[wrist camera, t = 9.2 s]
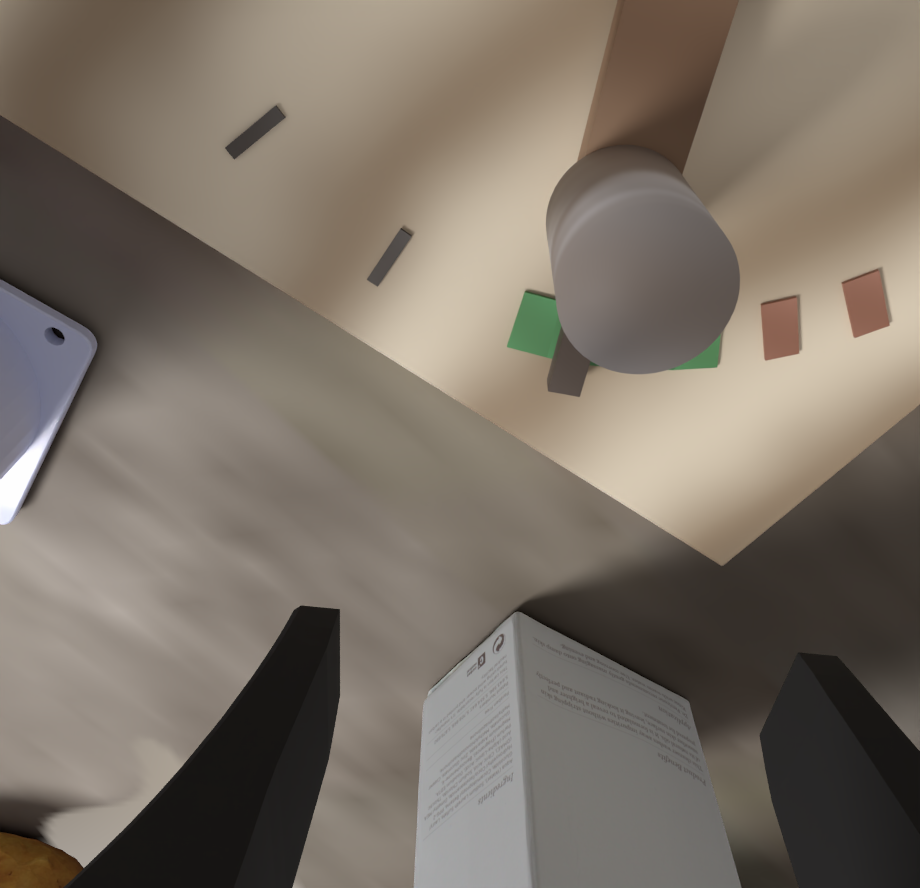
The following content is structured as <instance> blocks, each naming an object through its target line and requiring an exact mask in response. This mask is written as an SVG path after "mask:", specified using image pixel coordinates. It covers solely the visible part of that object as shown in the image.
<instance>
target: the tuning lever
mask: <svg viewBox="0 0 920 888" xmlns="http://www.w3.org/2000/svg"><path fill="white" fill-rule="evenodd" d="M738 2H739V0H617V4H616V8H615V12H614V16H613V20H612V24H611V28H610V32H609V36H608V40H607V44H606V48H605V52H604V56H603V60H602V64H601V68H600V72H599V76H598V80H597V84H596V88H595V92H594V96H593V100H592V104H591V108H590V112H589V116H588V120H587V124H586V128H585V132H584V136H583V140H582V144H581V148H580V152H579V156H578V160H577V162H576V163H575V164H574V165H573V166H572V167H570V168H569V169H568V170H567V171H566V173H565V174H564V175H563V176H562V178H561V179H560V180H559V182H558V184H557V185H556V187H555V189H554V191H553V193H552V195H551V198H550V201H549V204H548V208H547V214H546V232H547V240H548V247H549V255H550V262H551V269H552V277H553V284H554V291H555V298H556V306H557V312H558V316H559V321H560V323H561V329H560V333H559V336H558V340H557V344H556V347H555V351H554V355H553V358H552V362H551V366H550V369H549V373H548V377H547V388H548V392H554V393H559V394H565V395H570V396H576V397H580V395H581V391H582V388H583V385H584V382H585V378H586V375H587V372H588V368H589V365H590V362H593V363H595V364H597V365H599V366H601V367H603V368H606V369H608V370H611V371H615V372H619V373H626V374H651V373H657V372H662V371H666V370H669V369H672V368H675V367H678V366H680V365H682V364H684V363H686V362H688V361H690V360H691V359H693V358H695V357H696V356H698V355H699V354H700V353H702V352H703V351H704V350H706V349H707V348H708V347H709V346H710V345H711V344H712V343H713V342H714V341H715V340H716V339H717V338H718V336H719V335H720V334H721V333H722V332H723V330H724V329H725V327H726V325H727V324H728V322H729V321H730V318H731V316H732V314H733V312H734V310H735V307H736V304H737V301H738V296H739V290H740V270H739V264H738V260H737V256H736V254H735V251H734V249H733V247H732V245H731V243H730V241H729V240H728V238H727V237H726V235H725V234H724V232H723V231H722V230H721V228H720V227H719V225H718V224H717V223H716V221H715V220H714V219H713V217H712V216H711V214H710V213H709V212H708V210H707V209H706V207H705V206H704V205H703V203H702V202H701V200H700V199H699V198H698V196H697V195H696V193H695V192H694V191H693V189H692V188H691V187H690V185H689V184H688V182H687V181H686V180H685V178H684V177H683V175H682V174H683V171H684V168H685V164H686V161H687V158H688V155H689V152H690V149H691V146H692V143H693V140H694V137H695V134H696V131H697V128H698V125H699V122H700V119H701V115H702V112H703V109H704V106H705V103H706V100H707V97H708V94H709V91H710V88H711V85H712V82H713V79H714V76H715V73H716V70H717V66H718V63H719V60H720V57H721V54H722V51H723V48H724V45H725V42H726V39H727V36H728V33H729V30H730V27H731V24H732V21H733V17H734V14H735V11H736V8H737V5H738Z"/></svg>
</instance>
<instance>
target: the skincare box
mask: <svg viewBox="0 0 920 888" xmlns="http://www.w3.org/2000/svg"><path fill="white" fill-rule="evenodd" d="M414 888H742V887H741V884H740V880H739V877H738V873H737V870H736V866H735V863H734V859H733V856H732V852H731V849H730V845H729V842H728V838H727V835H726V831H725V827H724V824H723V820H722V817H721V814H720V811H719V807H718V803H717V800H716V796H715V793H714V790H713V786H712V783H711V779H710V775H709V771H708V768H707V764H706V761H705V757H704V754H703V750H702V747H701V744H700V740H699V737H698V733H697V730H696V726H695V723H694V719H693V715H692V712H691V708H690V702H689V701H688V700H686V699H684V698H683V697H681V696H679V695H677V694H675V693H673V692H671V691H669V690H667V689H665V688H663V687H662V686H660V685H658V684H656V683H654V682H652V681H650V680H648V679H646V678H644V677H642V676H640V675H638V674H636V673H635V672H633V671H631V670H629V669H627V668H625V667H623V666H621V665H620V664H618V663H616V662H614V661H612V660H610V659H608V658H606V657H604V656H603V655H601V654H599V653H597V652H595V651H593V650H591V649H589V648H587V647H585V646H584V645H582V644H580V643H578V642H576V641H574V640H572V639H570V638H568V637H566V636H564V635H562V634H560V633H558V632H556V631H554V630H552V629H550V628H548V627H547V626H545V625H543V624H541V623H539V622H537V621H536V620H534V619H532V618H530V617H529V616H527V615H525V614H523V613H521V612H515V613H513V614H512V615H511V616H510V617H509V618H508V619H506V620H505V621H504V622H503V623H502V624H501V625H500V626H499V627H498V628H497V629H496V630H495V631H494V632H493V633H492V634H491V635H490V636H489V637H488V638H487V639H486V640H485V641H484V642H483V643H482V644H481V645H479V646H478V647H477V648H476V649H475V650H474V651H473V652H472V653H471V654H469V655H468V656H467V657H466V658H465V659H464V660H462V661H461V662H460V663H459V664H457V666H456V667H454V668H453V669H452V670H451V671H450V672H449V673H448V674H447V675H446V676H445V677H444V678H443V679H441V680H440V682H439V683H437V684H436V685H435V686H434V687H433V688H432V689H431V690H430V691H429V693H428V697H427V699H426V700H425V701H424V705H423V720H422V739H421V756H420V776H419V793H418V816H417V835H416V855H415V874H414Z"/></svg>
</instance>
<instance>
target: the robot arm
mask: <svg viewBox="0 0 920 888" xmlns="http://www.w3.org/2000/svg"><path fill="white" fill-rule="evenodd" d="M52 327H53V328H56V329H58V330H60V331H61V332H62V333H63V335H64V337H65V339H62V338H58V337H57V336H56V335H55V334H54V333H53V331H52ZM96 350H97V341H96V338H95V336H94V335H93V334H92V332H91V331H89V330H88V329H87V328H86V327H84V326H82V325H80V324H79V323H77V322H75V321H73V320H72V319H70V318H68V317H66V316H65V315H63V314H61V313H59V312H58V311H56V310H54V309H52V308H50V307H49V306H47V305H45V304H43V303H42V302H40V301H38V300H36V299H35V298H33V297H31V296H29V295H27V294H26V293H24V292H22V291H20V290H19V289H17V288H15V287H13V286H12V285H10V284H8V283H6V282H4V281H3V280H1V279H0V524H8V523H10V522H11V521H12V520H13V519H14V518H15V517H16V516H17V514H18V513H19V511H20V509H21V507H22V504H23V502H24V500H25V498H26V496H27V494H28V492H29V490H30V488H31V486H32V484H33V482H34V479H35V477H36V475H37V473H38V471H39V469H40V467H41V465H42V463H43V461H44V459H45V457H46V455H47V452H48V450H49V448H50V446H51V444H52V442H53V440H54V438H55V436H56V434H57V432H58V430H59V427H60V425H61V423H62V421H63V419H64V417H65V415H66V413H67V411H68V409H69V407H70V405H71V402H72V400H73V398H74V396H75V394H76V392H77V390H78V388H79V386H80V384H81V382H82V380H83V377H84V375H85V373H86V371H87V369H88V367H89V365H90V363H91V361H92V359H93V357H94V355H95V352H96ZM339 698H340V609H331V608H321V607H310V606H300V607H298V608H297V609H295V610H294V611H293V613H292V615H291V616H290V618H289V620H288V622H287V624H286V625H285V627H284V629H283V630H282V632H281V634H280V635H279V637H278V639H277V640H276V642H275V643H274V645H273V646H272V648H271V650H270V651H269V653H268V654H267V656H266V657H265V659H264V660H263V662H262V663H261V665H260V666H259V667H258V669H257V670H256V672H255V673H254V675H253V676H252V678H251V679H250V680H249V682H248V683H247V685H246V686H245V687H244V689H243V690H242V691H241V693H240V694H239V695H238V697H237V698H236V699H235V701H234V702H233V704H232V705H231V706H230V708H229V709H228V710H227V712H226V713H225V714H224V716H223V717H222V718H221V720H220V721H219V722H218V723H217V725H216V726H215V727H214V728H213V730H212V731H211V732H210V733H209V734H208V736H207V737H206V738H205V739H204V741H203V742H202V743H201V744H200V745H199V747H198V748H197V749H196V750H195V751H194V753H193V754H192V755H191V756H190V758H189V759H188V760H187V761H186V762H185V764H184V765H183V766H182V767H181V768H180V769H179V771H178V772H177V773H176V774H175V775H174V776H173V778H172V779H171V780H170V781H169V782H168V783H167V784H166V785H165V786H164V788H163V789H162V790H161V791H160V792H159V793H158V794H157V795H156V796H155V798H154V799H153V800H152V801H151V802H150V803H149V804H148V805H147V806H146V807H145V808H144V809H143V810H142V811H141V812H140V813H139V814H138V815H137V817H136V818H135V819H134V820H133V821H132V822H131V823H130V824H129V825H128V826H127V827H126V828H125V829H124V830H123V831H122V832H121V833H120V834H119V835H118V836H117V837H116V838H115V839H114V840H113V841H112V842H111V843H110V844H109V845H108V846H107V847H106V848H105V849H104V850H102V851H101V852H100V853H99V854H98V855H97V856H96V857H95V858H94V859H93V860H92V861H91V862H90V863H89V864H88V865H87V866H86V867H85V868H84V869H83V870H82V871H81V872H80V873H79V874H77V875H76V876H75V877H74V878H73V879H72V880H71V881H70V882H69V883H68V884H67V885H66V886H64V887H63V888H292V887H293V883H294V880H295V876H296V873H297V869H298V866H299V862H300V859H301V855H302V852H303V848H304V845H305V841H306V838H307V834H308V831H309V827H310V824H311V820H312V817H313V813H314V810H315V806H316V802H317V799H318V795H319V792H320V788H321V785H322V781H323V778H324V774H325V770H326V767H327V763H328V760H329V754H330V749H331V743H332V738H333V732H334V727H335V721H336V715H337V709H338V703H339ZM760 740H761V746H762V752H763V758H764V763H765V769H766V774H767V779H768V784H769V789H770V794H771V799H772V803H773V806H774V809H775V813H776V816H777V819H778V822H779V826H780V829H781V832H782V835H783V838H784V842H785V845H786V848H787V851H788V854H789V857H790V861H791V864H792V867H793V870H794V873H795V876H796V879H797V882H798V885H799V888H920V751H919V750H918V749H917V748H916V747H915V745H914V744H913V743H912V742H911V741H910V740H909V739H908V737H907V736H906V735H905V734H904V733H903V732H902V731H901V729H900V728H899V727H898V726H897V725H896V724H895V722H894V721H893V720H892V719H891V718H890V717H889V716H888V714H887V713H886V712H885V711H884V710H883V709H882V707H881V706H880V705H879V704H878V703H877V702H876V700H875V699H874V698H873V697H872V696H871V695H870V693H869V692H868V691H867V690H866V689H865V688H864V686H863V685H862V684H861V683H860V682H859V681H858V680H857V678H856V677H855V676H854V675H853V674H852V673H851V672H850V670H849V669H848V668H847V667H846V666H845V665H844V664H843V662H842V661H841V660H840V659H839V658H838V657H837V656H828V655H818V654H807V653H798V654H797V656H796V658H795V660H794V663H793V665H792V667H791V669H790V671H789V673H788V675H787V678H786V680H785V682H784V684H783V686H782V688H781V690H780V693H779V695H778V697H777V699H776V701H775V703H774V705H773V707H772V710H771V712H770V714H769V716H768V718H767V720H766V722H765V725H764V727H763V729H762V731H761V733H760Z"/></svg>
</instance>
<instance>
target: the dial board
mask: <svg viewBox="0 0 920 888" xmlns="http://www.w3.org/2000/svg"><path fill="white" fill-rule="evenodd" d="M616 4H617V0H0V115H1V116H3V117H4V118H6V119H7V120H9V121H11V122H12V123H14V124H15V125H17V126H19V127H20V128H22V129H23V130H25V131H27V132H28V133H30V134H31V135H33V136H35V137H36V138H38V139H39V140H41V141H43V142H44V143H46V144H47V145H49V146H51V147H52V148H54V149H55V150H57V151H59V152H60V153H62V154H63V155H65V156H67V157H68V158H70V159H71V160H73V161H75V162H76V163H78V164H79V165H81V166H83V167H84V168H86V169H87V170H89V171H91V172H92V173H94V174H95V175H97V176H99V177H100V178H102V179H103V180H105V181H107V182H108V183H110V184H111V185H113V186H115V187H116V188H118V189H119V190H121V191H123V192H124V193H126V194H127V195H129V196H131V197H132V198H134V199H135V200H137V201H139V202H140V203H142V204H143V205H145V206H147V207H148V208H150V209H151V210H153V211H155V212H156V213H158V214H159V215H161V216H163V217H164V218H166V219H167V220H169V221H171V222H172V223H174V224H175V225H177V226H179V227H180V228H182V229H183V230H185V231H187V232H188V233H190V234H191V235H193V236H195V237H196V238H198V239H199V240H201V241H203V242H204V243H206V244H207V245H209V246H211V247H212V248H214V249H215V250H217V251H219V252H220V253H222V254H223V255H225V256H227V257H228V258H230V259H231V260H233V261H235V262H236V263H238V264H239V265H241V266H243V267H244V268H246V269H247V270H249V271H251V272H252V273H254V274H255V275H257V276H259V277H260V278H262V279H263V280H265V281H267V282H268V283H270V284H271V285H273V286H275V287H276V288H278V289H279V290H281V291H283V292H284V293H286V294H287V295H289V296H291V297H292V298H294V299H295V300H297V301H299V302H300V303H302V304H303V305H305V306H307V307H308V308H310V309H311V310H313V311H315V312H316V313H318V314H319V315H321V316H323V317H324V318H326V319H327V320H329V321H331V322H332V323H334V324H335V325H337V326H339V327H340V328H342V329H343V330H345V331H347V332H348V333H350V334H351V335H353V336H355V337H356V338H358V339H359V340H361V341H363V342H364V343H366V344H367V345H369V346H371V347H372V348H374V349H375V350H377V351H379V352H380V353H382V354H383V355H385V356H387V357H388V358H390V359H391V360H393V361H395V362H396V363H398V364H399V365H401V366H403V367H404V368H406V369H407V370H409V371H411V372H412V373H414V374H415V375H417V376H419V377H420V378H422V379H423V380H425V381H427V382H428V383H430V384H431V385H433V386H435V387H436V388H438V389H439V390H441V391H443V392H444V393H446V394H447V395H449V396H451V397H452V398H454V399H455V400H457V401H459V402H460V403H462V404H463V405H465V406H467V407H468V408H470V409H472V410H473V411H475V412H476V413H478V414H480V415H481V416H483V417H484V418H486V419H488V420H489V421H491V422H492V423H494V424H496V425H497V426H499V427H500V428H502V429H504V430H505V431H507V432H508V433H510V434H512V435H513V436H515V437H516V438H518V439H520V440H521V441H523V442H524V443H526V444H528V445H529V446H531V447H532V448H534V449H536V450H537V451H539V452H540V453H542V454H544V455H545V456H547V457H548V458H550V459H552V460H553V461H555V462H556V463H558V464H560V465H561V466H563V467H564V468H566V469H568V470H569V471H571V472H572V473H574V474H576V475H577V476H579V477H580V478H582V479H584V480H585V481H587V482H588V483H590V484H592V485H593V486H595V487H596V488H598V489H600V490H601V491H603V492H604V493H606V494H608V495H609V496H611V497H612V498H614V499H616V500H617V501H619V502H620V503H622V504H624V505H625V506H627V507H628V508H630V509H632V510H633V511H635V512H636V513H638V514H640V515H641V516H643V517H644V518H646V519H648V520H649V521H651V522H652V523H654V524H656V525H657V526H659V527H660V528H662V529H664V530H665V531H667V532H668V533H670V534H672V535H673V536H675V537H676V538H678V539H680V540H681V541H683V542H684V543H686V544H688V545H689V546H691V547H692V548H694V549H696V550H697V551H699V552H700V553H702V554H704V555H705V556H707V557H708V558H710V559H712V560H713V561H715V562H716V563H718V564H720V565H721V566H723V565H724V564H726V563H727V562H728V561H729V560H731V559H732V558H733V557H734V556H735V555H737V554H738V553H739V552H740V551H741V550H743V549H744V548H745V547H746V546H748V545H749V544H750V543H751V542H752V541H754V540H755V539H756V538H757V537H759V536H760V535H761V534H762V533H763V532H765V531H766V530H767V529H768V528H770V527H771V526H772V525H773V524H774V523H776V522H777V521H778V520H779V519H780V518H782V517H783V516H784V515H785V514H787V513H788V512H789V511H790V510H791V509H793V508H794V507H795V506H796V505H798V504H799V503H800V502H801V501H802V500H804V499H805V498H806V497H807V496H808V495H810V494H811V493H812V492H813V491H815V490H816V489H817V488H818V487H819V486H821V485H822V484H823V483H824V482H826V481H827V480H828V479H829V478H830V477H832V476H833V475H834V474H835V473H837V472H838V471H839V470H840V469H841V468H843V467H844V466H845V465H846V464H847V463H849V462H850V461H851V460H852V459H854V458H855V457H856V456H857V455H858V454H860V453H861V452H862V451H863V450H865V449H866V448H867V447H868V446H869V445H871V444H872V443H873V442H874V441H875V440H877V439H878V438H879V437H880V436H882V435H883V434H884V433H885V432H886V431H888V430H889V429H890V428H891V427H893V426H894V425H895V424H896V423H897V422H899V421H900V420H901V419H902V418H904V417H905V416H906V415H907V414H908V413H910V412H911V411H912V410H913V409H914V408H916V407H917V406H918V405H919V404H920V0H739V2H738V5H737V8H736V11H735V14H734V17H733V21H732V24H731V27H730V30H729V33H728V36H727V39H726V42H725V45H724V48H723V51H722V54H721V57H720V60H719V63H718V66H717V70H716V73H715V76H714V79H713V82H712V85H711V88H710V91H709V94H708V97H707V100H706V103H705V106H704V109H703V112H702V115H701V119H700V122H699V125H698V128H697V131H696V134H695V137H694V140H693V143H692V146H691V149H690V152H689V155H688V158H687V161H686V164H685V168H684V171H683V174H682V175H683V177H684V178H685V180H686V181H687V182H688V184H689V185H690V187H691V188H692V189H693V191H694V192H695V193H696V195H697V196H698V198H699V199H700V200H701V202H702V203H703V205H704V206H705V207H706V209H707V210H708V212H709V213H710V214H711V216H712V217H713V219H714V220H715V221H716V223H717V224H718V225H719V227H720V228H721V230H722V231H723V232H724V234H725V235H726V237H727V238H728V240H729V241H730V243H731V245H732V247H733V249H734V251H735V254H736V256H737V260H738V264H739V270H740V290H739V296H738V301H737V304H736V307H735V310H734V312H733V314H732V316H731V318H730V321H729V322H728V324H727V325H726V327H725V329H724V330H723V332H722V333H721V334H720V335H719V336H718V338H717V339H716V340H715V341H714V342H713V343H712V344H711V345H710V346H709V347H708V348H707V349H706V350H704V351H703V352H702V353H700V354H699V355H698V356H696V357H695V358H693V359H691V360H690V361H688V362H686V363H684V364H682V365H680V366H678V367H675V368H672V369H669V370H666V371H662V372H657V373H651V374H626V373H619V372H615V371H611V370H608V369H606V368H603V367H601V366H599V365H597V364H595V363H593V362H590V365H589V368H588V372H587V375H586V378H585V382H584V385H583V388H582V391H581V395H580V397H576V396H570V395H565V394H559V393H554V392H548V388H547V377H548V373H549V369H550V366H551V362H552V358H553V355H554V351H555V347H556V344H557V340H558V336H559V333H560V329H561V323H560V321H559V316H558V312H557V306H556V298H555V291H554V284H553V277H552V269H551V262H550V255H549V247H548V240H547V232H546V214H547V208H548V204H549V201H550V198H551V195H552V193H553V191H554V189H555V187H556V185H557V184H558V182H559V180H560V179H561V178H562V176H563V175H564V174H565V173H566V171H567V170H568V169H569V168H570V167H572V166H573V165H574V164H575V163H576V162H577V160H578V156H579V152H580V148H581V144H582V140H583V136H584V132H585V128H586V124H587V120H588V116H589V112H590V108H591V104H592V100H593V96H594V92H595V88H596V84H597V80H598V76H599V72H600V68H601V64H602V60H603V56H604V52H605V48H606V44H607V40H608V36H609V32H610V28H611V24H612V20H613V16H614V12H615V8H616Z"/></svg>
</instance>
